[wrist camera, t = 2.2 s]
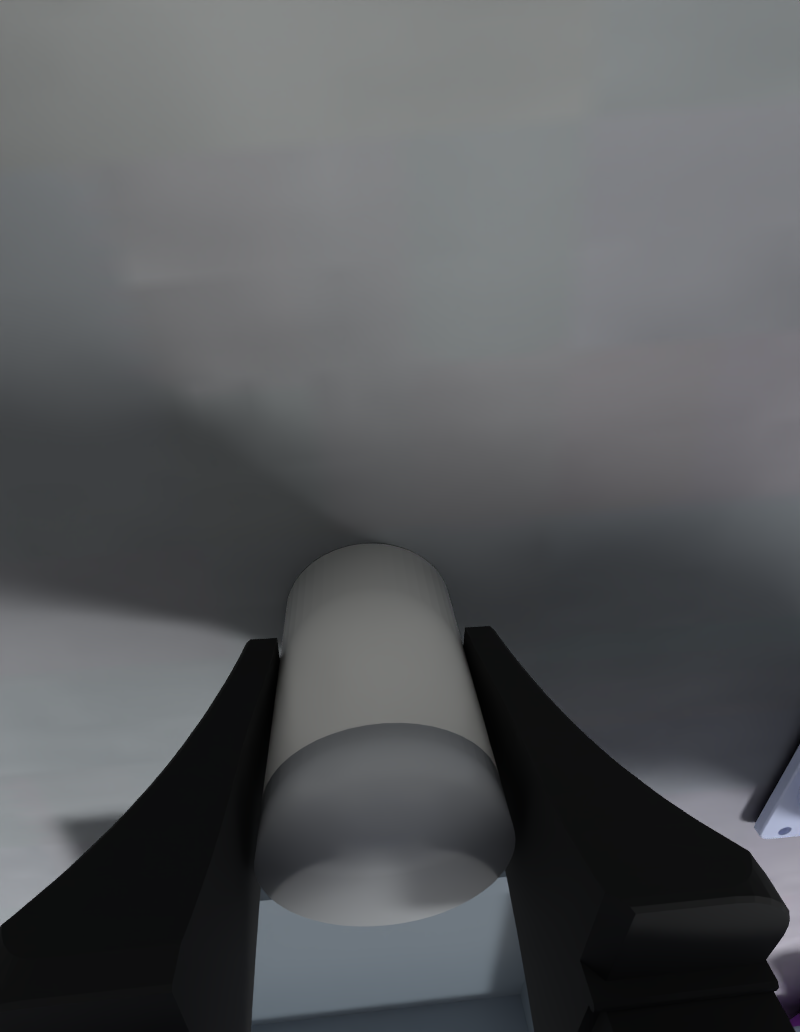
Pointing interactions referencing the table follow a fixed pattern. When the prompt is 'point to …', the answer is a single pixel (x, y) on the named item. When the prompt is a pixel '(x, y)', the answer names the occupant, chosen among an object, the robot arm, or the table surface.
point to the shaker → (377, 750)
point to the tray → (392, 972)
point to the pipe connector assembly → (795, 1020)
